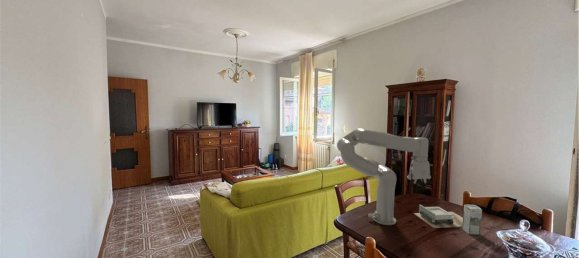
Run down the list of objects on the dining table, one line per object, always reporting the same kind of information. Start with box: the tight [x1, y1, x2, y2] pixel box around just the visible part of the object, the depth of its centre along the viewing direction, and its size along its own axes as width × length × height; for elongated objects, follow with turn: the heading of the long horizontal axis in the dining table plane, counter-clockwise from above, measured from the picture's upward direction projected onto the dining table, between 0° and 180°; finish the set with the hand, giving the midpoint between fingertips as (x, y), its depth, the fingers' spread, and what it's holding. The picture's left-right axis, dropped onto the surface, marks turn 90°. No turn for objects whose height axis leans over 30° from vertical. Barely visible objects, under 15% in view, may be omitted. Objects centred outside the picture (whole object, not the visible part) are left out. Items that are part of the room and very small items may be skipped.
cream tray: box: [413, 211, 463, 229], centre depth 143 cm, size 26×18×1 cm
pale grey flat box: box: [418, 204, 455, 225], centre depth 142 cm, size 13×14×6 cm
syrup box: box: [461, 204, 483, 236], centre depth 128 cm, size 6×6×14 cm
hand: (418, 189), depth 140 cm, fingers open, 4 cm apart
